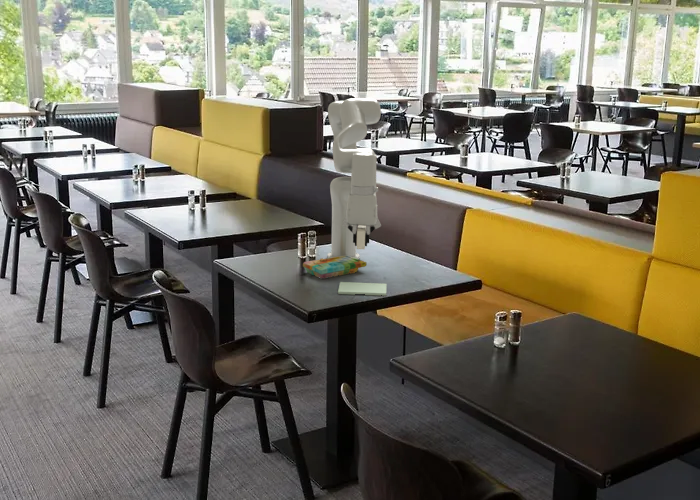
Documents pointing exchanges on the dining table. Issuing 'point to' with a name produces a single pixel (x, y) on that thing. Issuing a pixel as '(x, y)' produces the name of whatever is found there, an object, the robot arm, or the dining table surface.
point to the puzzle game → (333, 266)
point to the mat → (362, 288)
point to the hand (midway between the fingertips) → (361, 244)
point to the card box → (361, 237)
